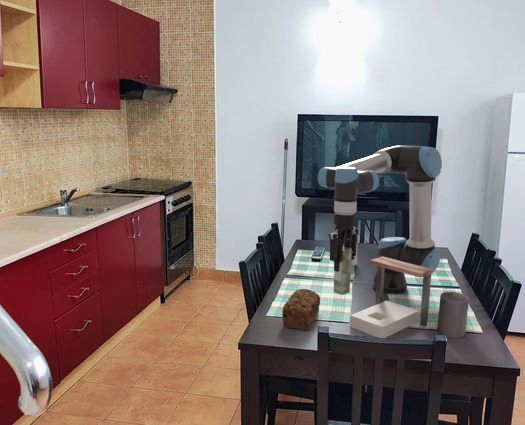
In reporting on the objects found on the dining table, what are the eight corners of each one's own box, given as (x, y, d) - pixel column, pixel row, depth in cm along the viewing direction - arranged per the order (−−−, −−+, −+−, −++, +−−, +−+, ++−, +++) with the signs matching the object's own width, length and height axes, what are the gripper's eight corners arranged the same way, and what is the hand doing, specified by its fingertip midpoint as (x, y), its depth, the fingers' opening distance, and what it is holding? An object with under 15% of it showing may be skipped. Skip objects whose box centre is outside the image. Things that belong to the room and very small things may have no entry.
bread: (295, 309, 204) (295, 285, 202) (321, 313, 201) (322, 289, 199) (280, 327, 187) (281, 302, 185) (309, 332, 184) (309, 305, 182)
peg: (340, 289, 183) (342, 246, 180) (349, 292, 180) (351, 248, 177) (333, 292, 180) (335, 248, 177) (342, 295, 178) (344, 250, 174)
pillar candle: (432, 327, 189) (436, 288, 186) (458, 326, 190) (462, 288, 187) (443, 338, 180) (447, 298, 176) (470, 338, 180) (474, 298, 177)
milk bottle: (358, 263, 267) (360, 226, 263) (353, 267, 260) (355, 229, 257) (345, 261, 271) (346, 224, 267) (339, 265, 264) (340, 227, 261)
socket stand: (379, 307, 207) (382, 256, 203) (428, 324, 191) (433, 269, 187) (341, 323, 191) (343, 268, 187) (391, 343, 175) (395, 283, 171)
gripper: (351, 208, 183) (349, 271, 188) (319, 214, 172) (317, 280, 176) (369, 211, 178) (365, 276, 182) (337, 217, 166) (334, 286, 171)
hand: (342, 278), depth 179 cm, fingers closed on peg, 4 cm apart
